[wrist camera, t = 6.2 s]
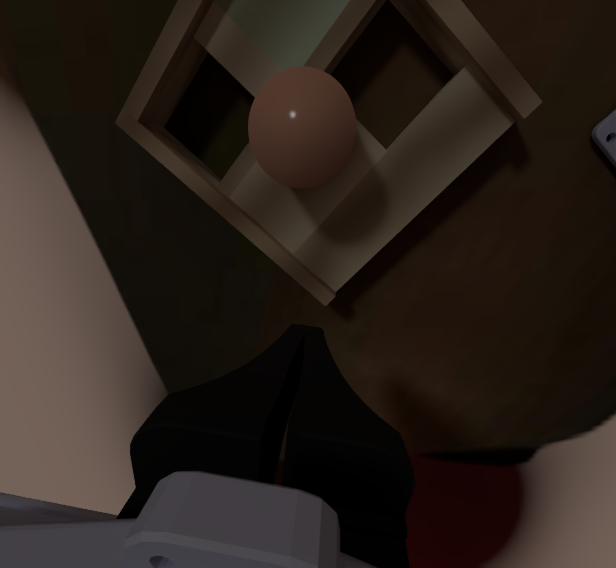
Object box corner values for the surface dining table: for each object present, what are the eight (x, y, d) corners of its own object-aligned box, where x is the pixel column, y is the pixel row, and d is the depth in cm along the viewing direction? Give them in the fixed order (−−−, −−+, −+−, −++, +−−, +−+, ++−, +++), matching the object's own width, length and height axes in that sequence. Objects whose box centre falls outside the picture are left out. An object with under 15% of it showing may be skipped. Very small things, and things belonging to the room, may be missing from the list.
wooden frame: (512, 112, 17) (542, 101, 15) (327, 290, 23) (325, 306, 20) (297, -146, 14) (288, -215, 12) (144, 129, 20) (115, 122, 17)
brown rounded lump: (369, 147, 17) (377, 141, 13) (302, 201, 18) (293, 209, 15) (318, 68, 16) (311, 36, 12) (251, 132, 17) (226, 121, 14)
